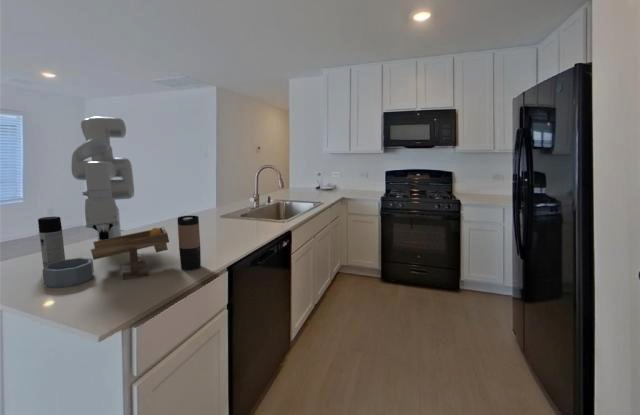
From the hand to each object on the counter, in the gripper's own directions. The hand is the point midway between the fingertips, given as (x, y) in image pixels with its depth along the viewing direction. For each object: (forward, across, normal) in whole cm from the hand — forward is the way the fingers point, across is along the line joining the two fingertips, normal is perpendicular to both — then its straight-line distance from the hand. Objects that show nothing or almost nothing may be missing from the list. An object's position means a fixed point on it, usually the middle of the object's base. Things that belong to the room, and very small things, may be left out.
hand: (104, 241), depth 126 cm
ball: (-3, +17, -11) cm, 21 cm away
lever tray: (+4, +10, -7) cm, 12 cm away
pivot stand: (+10, +9, -11) cm, 17 cm away
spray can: (+10, -17, +6) cm, 21 cm away
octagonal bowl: (+10, -10, -11) cm, 18 cm away
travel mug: (+11, +28, -18) cm, 35 cm away
